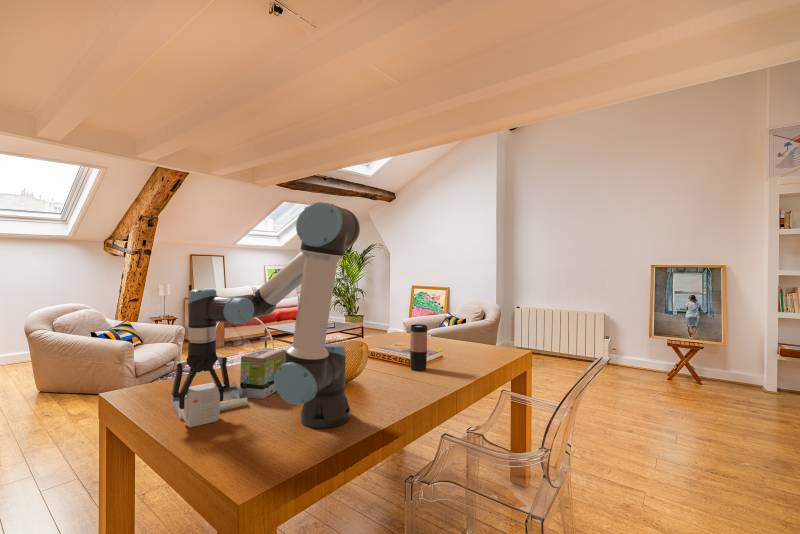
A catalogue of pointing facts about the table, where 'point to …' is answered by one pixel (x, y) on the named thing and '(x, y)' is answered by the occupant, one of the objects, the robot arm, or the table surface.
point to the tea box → (260, 372)
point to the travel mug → (418, 347)
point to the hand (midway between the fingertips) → (201, 415)
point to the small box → (202, 404)
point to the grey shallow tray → (230, 400)
